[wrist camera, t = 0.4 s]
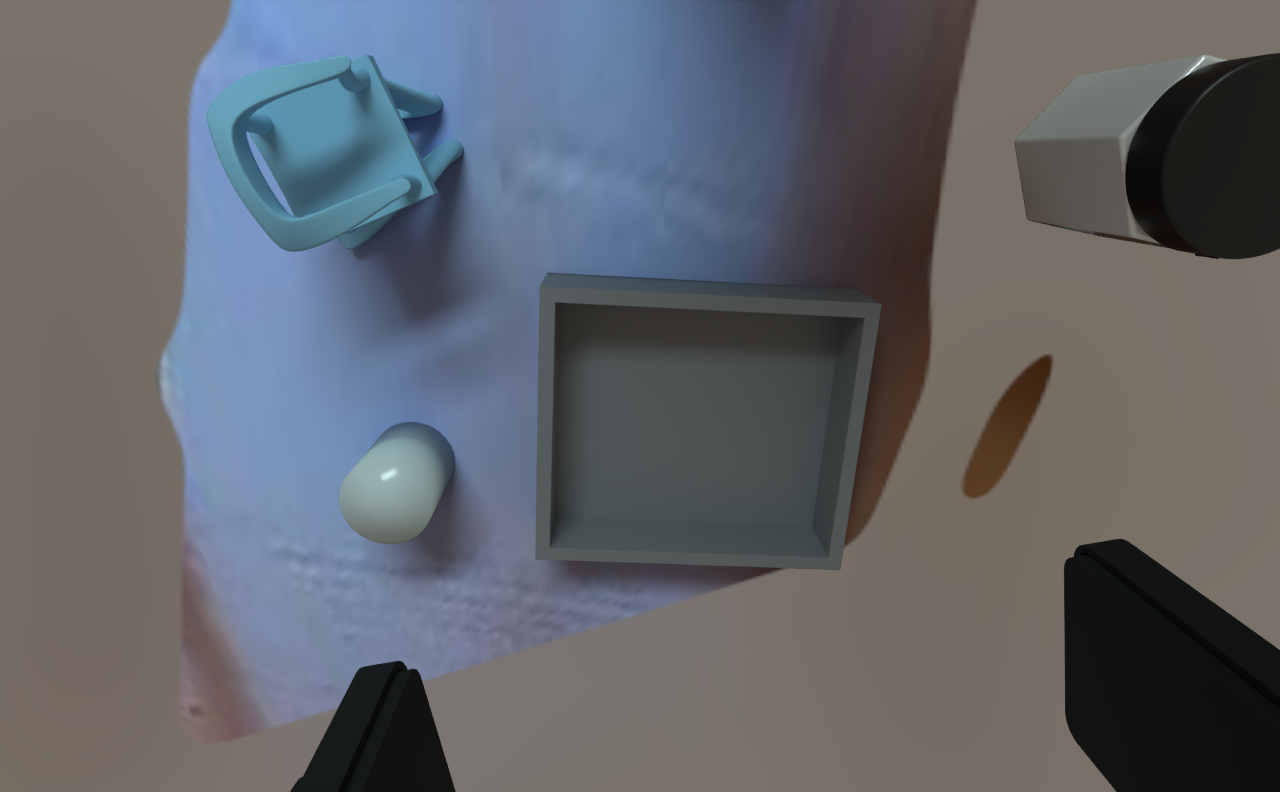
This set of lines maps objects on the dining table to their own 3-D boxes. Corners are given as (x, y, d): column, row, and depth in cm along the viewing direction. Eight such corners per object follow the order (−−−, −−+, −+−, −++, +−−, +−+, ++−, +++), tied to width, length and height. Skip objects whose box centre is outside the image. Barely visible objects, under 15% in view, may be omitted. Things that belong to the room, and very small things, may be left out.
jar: (1070, 267, 44) (1228, 307, 33) (980, 170, 42) (1115, 177, 31) (1195, 146, 42) (1410, 144, 31) (1107, 39, 40) (1302, -5, 29)
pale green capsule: (371, 420, 46) (336, 458, 40) (454, 423, 46) (431, 462, 40) (375, 495, 47) (342, 542, 41) (455, 498, 47) (433, 545, 42)
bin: (547, 273, 43) (540, 286, 39) (856, 288, 44) (882, 303, 40) (542, 523, 48) (535, 559, 44) (820, 533, 49) (839, 569, 45)
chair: (484, 191, 42) (437, 205, 30) (350, 249, 42) (255, 285, 31) (419, 51, 39) (342, 8, 28) (279, 114, 40) (148, 98, 29)
